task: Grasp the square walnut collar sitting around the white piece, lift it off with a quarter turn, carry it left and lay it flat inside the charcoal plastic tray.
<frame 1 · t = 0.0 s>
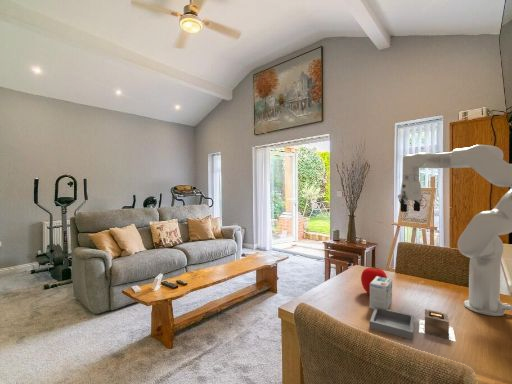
hand: (410, 211, 136), 37 cm above the table, tool pointing down, fingers open, 9 cm apart
light bulb box: (380, 306, 110), on the table, touching red rounded piece
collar: (436, 329, 90), point 1 cm above the table, touching white piece
tray: (392, 327, 93), on the table
red rounded piece: (374, 295, 121), on the table, touching light bulb box
white piece: (436, 332, 90), on the table
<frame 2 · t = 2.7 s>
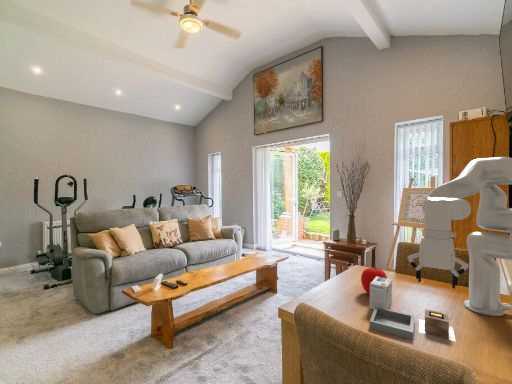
hand: (435, 284, 90), 17 cm above the table, tool pointing down, fingers open, 9 cm apart
light bulb box: (380, 306, 110), on the table
red rounded piece: (374, 295, 121), on the table
everything else where it was.
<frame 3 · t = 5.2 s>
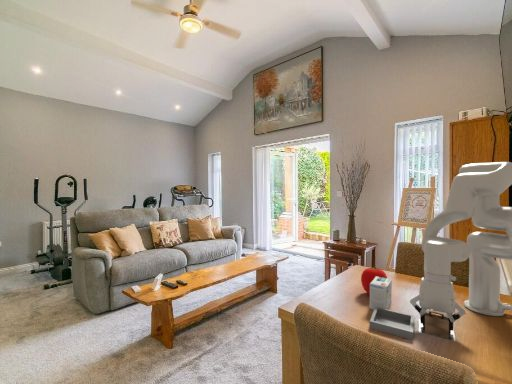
hand: (436, 328, 90), 1 cm above the table, tool pointing down, fingers closed on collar, 6 cm apart
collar: (436, 329, 90), point 1 cm above the table, touching gripper, white piece
everything else where it was.
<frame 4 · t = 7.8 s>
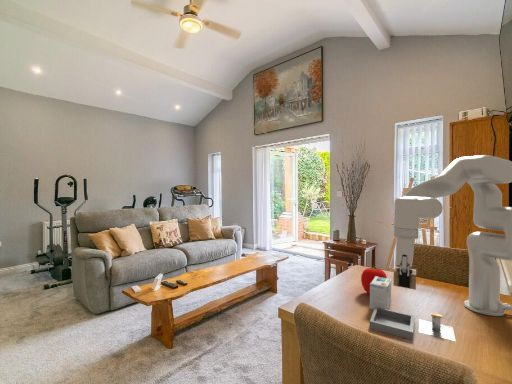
hand: (404, 283, 91), 17 cm above the table, tool pointing down, fingers closed on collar, 6 cm apart
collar: (404, 284, 91), point 16 cm above the table, touching gripper
everything else where it was.
when the fingers open (3 cm above the table, at t = 10.4 s): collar drops 1 cm, resting on tray.
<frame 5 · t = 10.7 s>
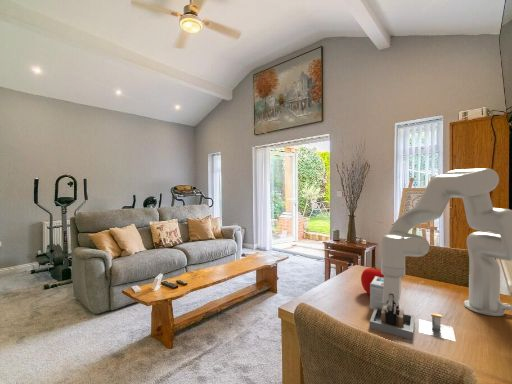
hand: (392, 318, 93), 4 cm above the table, tool pointing down, fingers open, 9 cm apart
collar: (392, 325, 93), point 1 cm above the table, touching tray
everything else where it was.
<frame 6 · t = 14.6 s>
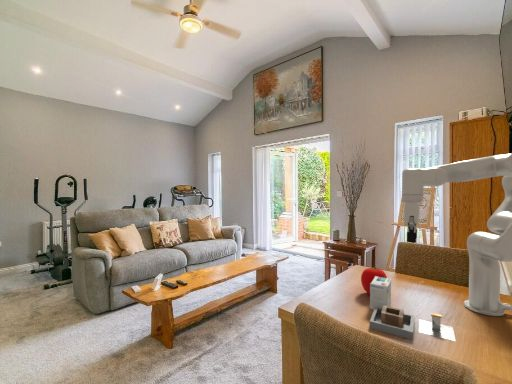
hand: (411, 240, 107), 28 cm above the table, tool pointing down, fingers open, 9 cm apart
nothing on the table moved.
at the end: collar inside the target area on the tray (0.0 cm from its centre), point 1.0 cm above the tray's base; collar tilted 0°; the gripper is holding nothing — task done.
